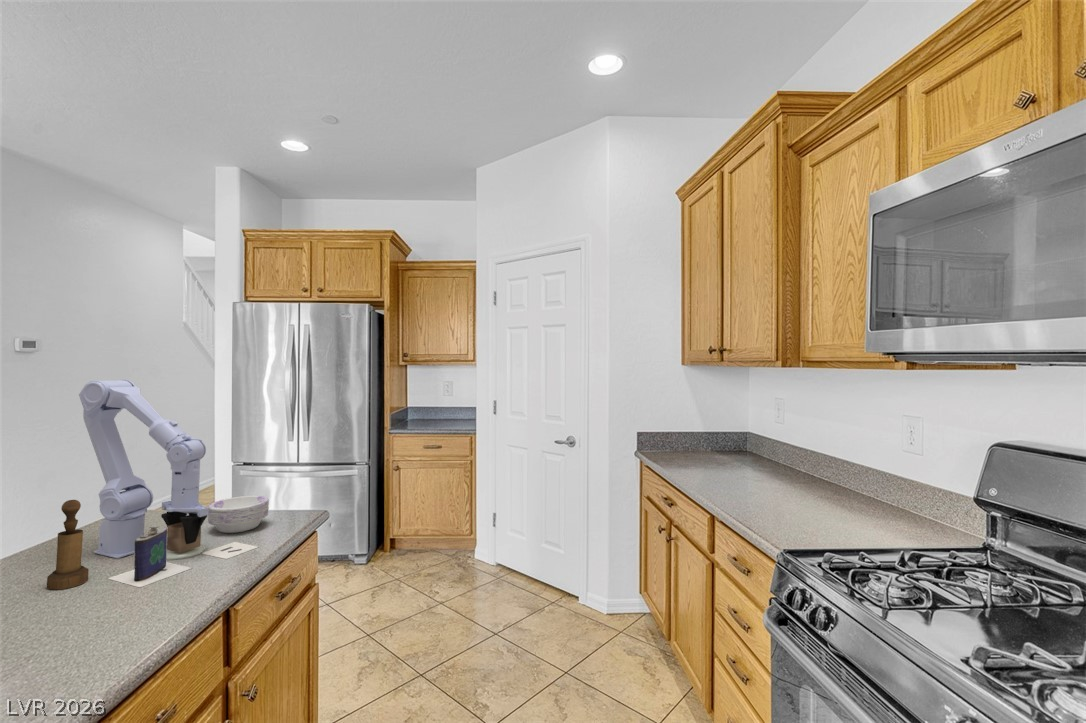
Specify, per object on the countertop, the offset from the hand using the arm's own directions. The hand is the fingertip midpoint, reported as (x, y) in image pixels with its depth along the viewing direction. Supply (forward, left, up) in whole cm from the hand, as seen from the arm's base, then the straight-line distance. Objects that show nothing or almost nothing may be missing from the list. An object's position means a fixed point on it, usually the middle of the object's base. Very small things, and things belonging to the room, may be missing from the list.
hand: (183, 541), depth 124 cm
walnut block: (0, 0, -2) cm, 2 cm away
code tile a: (+6, -11, -3) cm, 13 cm away
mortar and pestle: (-4, -21, -3) cm, 22 cm away
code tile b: (+9, +6, -3) cm, 11 cm away
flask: (+6, -11, -3) cm, 13 cm away
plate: (0, 0, -3) cm, 3 cm away
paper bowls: (-5, +19, -3) cm, 20 cm away
